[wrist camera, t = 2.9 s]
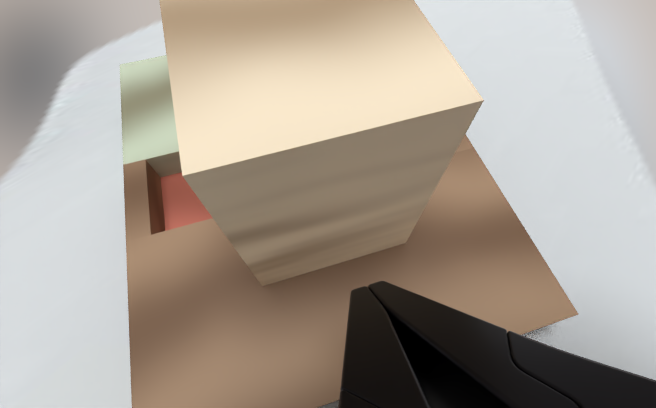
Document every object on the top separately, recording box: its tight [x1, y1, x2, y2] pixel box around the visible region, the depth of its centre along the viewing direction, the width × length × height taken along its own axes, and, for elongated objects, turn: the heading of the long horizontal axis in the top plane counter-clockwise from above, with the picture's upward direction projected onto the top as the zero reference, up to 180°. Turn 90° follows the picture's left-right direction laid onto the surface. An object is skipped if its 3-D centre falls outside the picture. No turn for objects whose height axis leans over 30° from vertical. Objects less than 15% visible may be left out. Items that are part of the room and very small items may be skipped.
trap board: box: [120, 55, 578, 408], centre depth 17 cm, size 19×16×2 cm
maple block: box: [160, 0, 484, 286], centre depth 12 cm, size 8×6×8 cm
